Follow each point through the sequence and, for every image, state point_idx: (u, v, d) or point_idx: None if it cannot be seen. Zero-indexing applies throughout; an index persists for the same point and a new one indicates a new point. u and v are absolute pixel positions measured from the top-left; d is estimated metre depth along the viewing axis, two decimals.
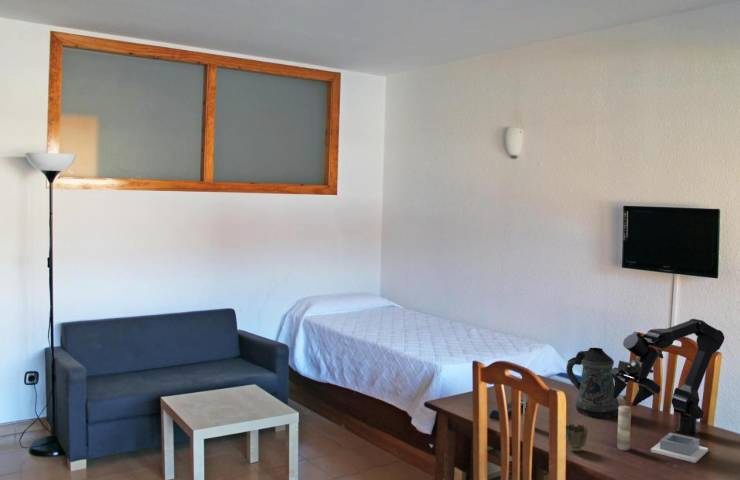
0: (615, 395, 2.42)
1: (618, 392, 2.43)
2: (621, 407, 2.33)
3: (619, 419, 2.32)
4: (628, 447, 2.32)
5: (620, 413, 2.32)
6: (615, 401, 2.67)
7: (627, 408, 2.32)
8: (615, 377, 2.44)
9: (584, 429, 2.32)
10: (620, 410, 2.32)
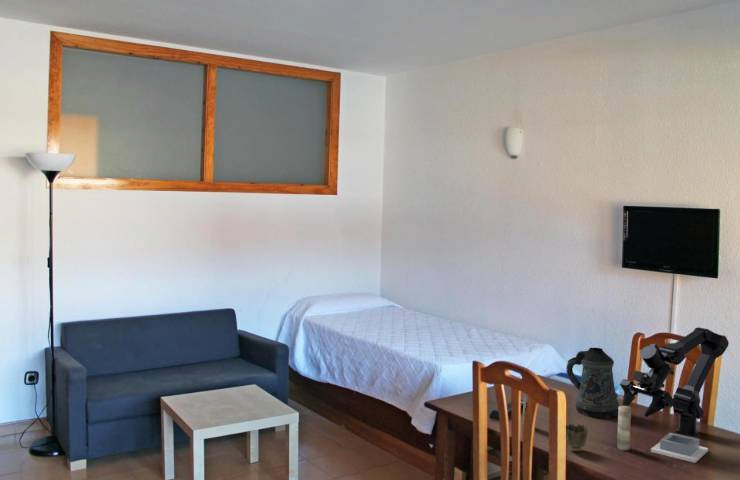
0: None
1: (627, 403, 2.40)
2: (621, 407, 2.33)
3: (619, 419, 2.32)
4: (628, 447, 2.32)
5: (620, 413, 2.32)
6: (615, 401, 2.67)
7: (627, 408, 2.32)
8: (625, 388, 2.41)
9: (584, 429, 2.32)
10: (620, 410, 2.32)
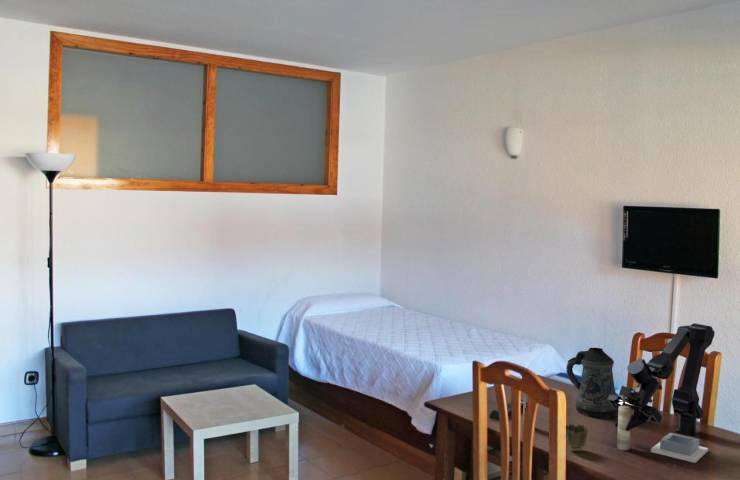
0: (617, 423, 2.34)
1: None
2: (621, 407, 2.33)
3: (619, 419, 2.32)
4: (628, 447, 2.32)
5: (620, 413, 2.32)
6: None
7: (627, 408, 2.32)
8: (619, 405, 2.36)
9: (584, 429, 2.32)
10: (620, 410, 2.32)
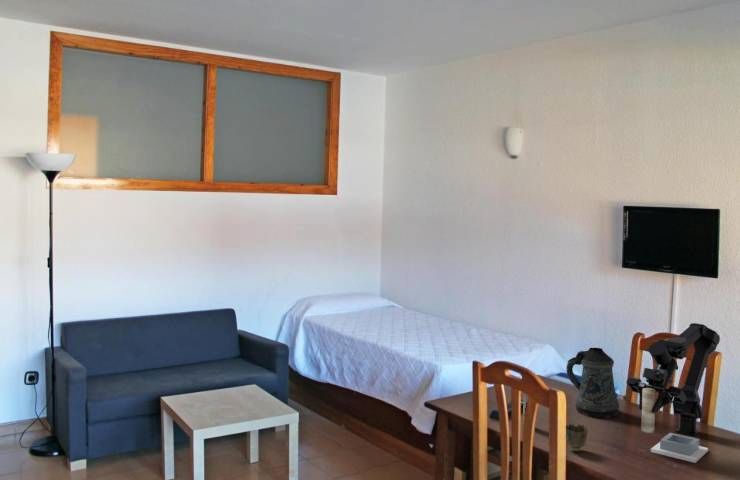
0: (641, 406, 2.31)
1: None
2: (645, 389, 2.30)
3: (644, 401, 2.29)
4: (653, 429, 2.30)
5: (645, 396, 2.29)
6: (615, 401, 2.67)
7: (652, 390, 2.29)
8: (641, 388, 2.33)
9: (584, 429, 2.32)
10: (645, 392, 2.29)
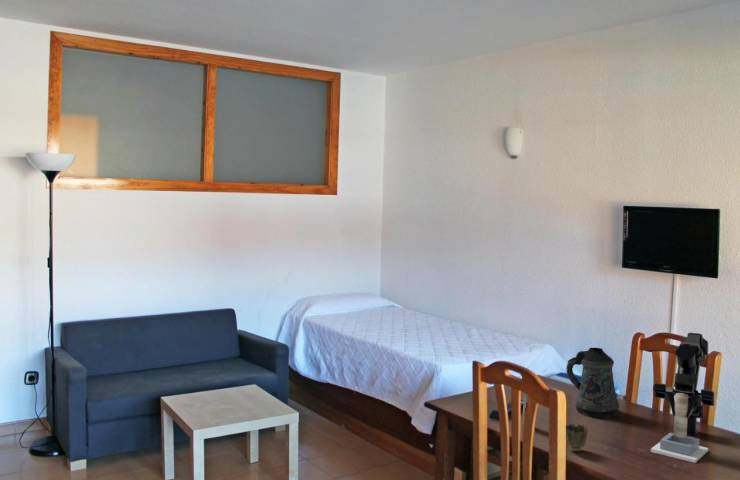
0: (674, 412, 2.31)
1: (674, 409, 2.32)
2: (679, 395, 2.29)
3: (678, 407, 2.29)
4: (686, 434, 2.30)
5: (680, 401, 2.28)
6: (615, 401, 2.67)
7: (685, 395, 2.29)
8: (671, 393, 2.33)
9: (584, 429, 2.32)
10: (680, 398, 2.28)
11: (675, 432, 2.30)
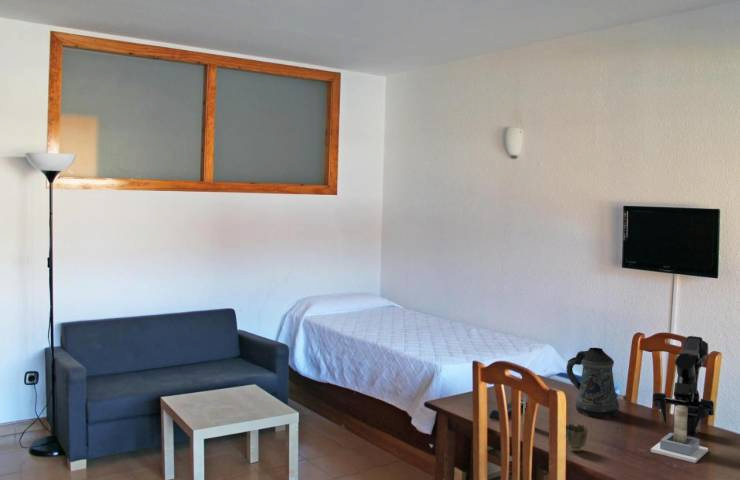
0: (666, 420, 2.32)
1: (666, 417, 2.34)
2: (678, 407, 2.30)
3: (678, 419, 2.29)
4: None
5: (680, 414, 2.29)
6: (615, 401, 2.67)
7: (684, 407, 2.30)
8: (663, 401, 2.34)
9: (584, 429, 2.32)
10: (680, 410, 2.29)
11: None
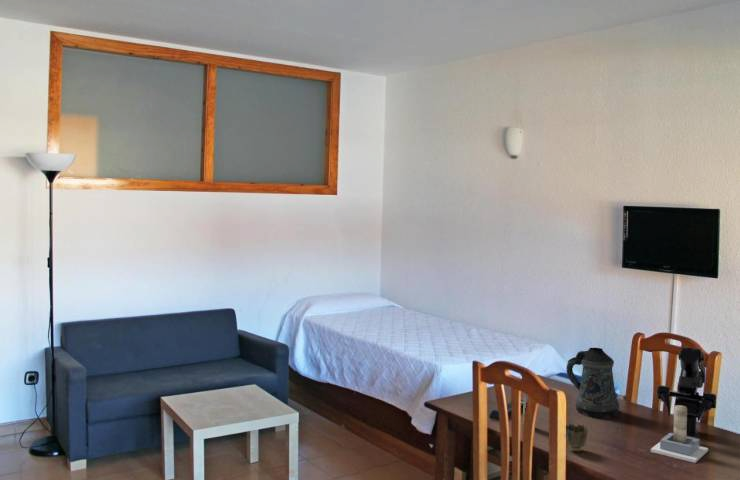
0: (669, 412, 2.40)
1: None
2: (678, 407, 2.30)
3: (677, 419, 2.29)
4: None
5: (679, 413, 2.29)
6: (615, 401, 2.67)
7: (684, 407, 2.30)
8: (667, 394, 2.42)
9: (584, 429, 2.32)
10: (679, 410, 2.29)
11: None
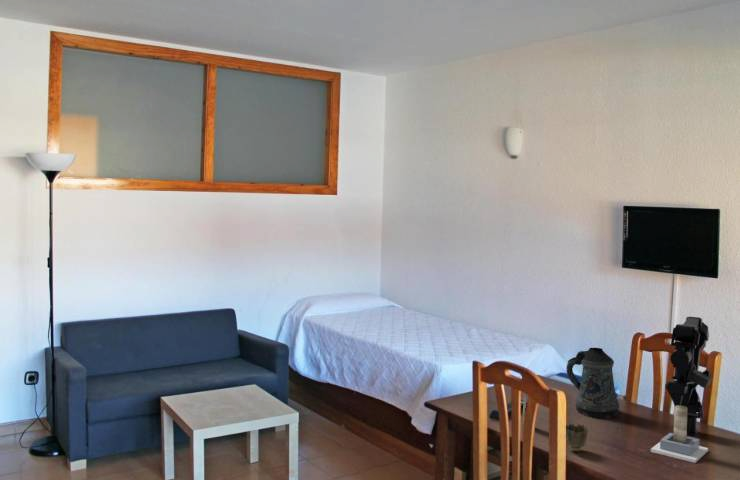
0: None
1: None
2: (678, 407, 2.30)
3: (678, 420, 2.29)
4: None
5: (679, 414, 2.28)
6: (615, 401, 2.67)
7: (684, 407, 2.29)
8: (685, 393, 2.31)
9: (584, 429, 2.32)
10: (679, 411, 2.28)
11: None
